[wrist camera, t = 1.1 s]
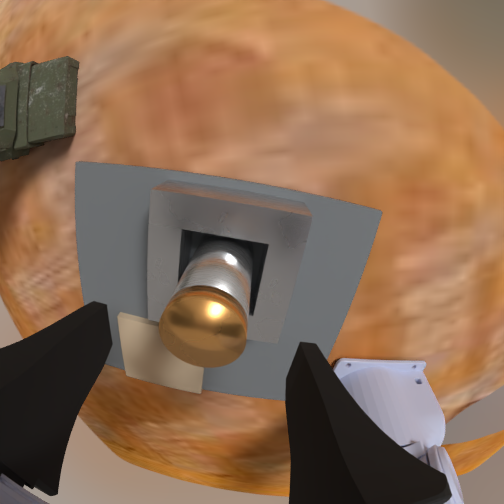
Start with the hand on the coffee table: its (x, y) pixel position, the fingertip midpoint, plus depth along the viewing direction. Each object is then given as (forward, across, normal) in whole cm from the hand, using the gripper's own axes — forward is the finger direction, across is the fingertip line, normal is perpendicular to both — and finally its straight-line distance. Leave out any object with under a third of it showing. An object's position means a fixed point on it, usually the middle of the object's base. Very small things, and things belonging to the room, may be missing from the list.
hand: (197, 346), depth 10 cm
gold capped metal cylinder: (+9, 0, 0) cm, 9 cm away
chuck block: (+9, 0, 0) cm, 9 cm away
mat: (+9, +1, +5) cm, 10 cm away
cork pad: (+9, +4, +10) cm, 14 cm away
